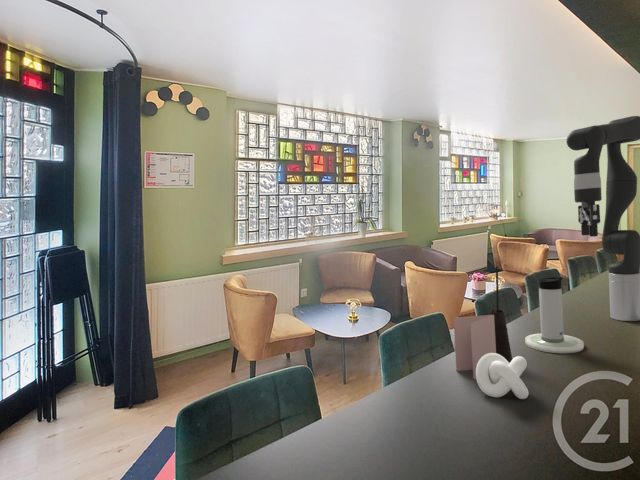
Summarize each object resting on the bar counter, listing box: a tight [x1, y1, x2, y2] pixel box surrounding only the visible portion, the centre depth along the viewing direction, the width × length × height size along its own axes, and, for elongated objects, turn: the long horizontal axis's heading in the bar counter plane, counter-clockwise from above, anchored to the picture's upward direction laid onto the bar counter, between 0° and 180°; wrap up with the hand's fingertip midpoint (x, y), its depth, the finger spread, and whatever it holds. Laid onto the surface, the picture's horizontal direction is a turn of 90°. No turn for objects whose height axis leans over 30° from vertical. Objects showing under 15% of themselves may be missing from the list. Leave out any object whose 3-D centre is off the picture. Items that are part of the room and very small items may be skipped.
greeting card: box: [453, 314, 496, 380], centre depth 108 cm, size 11×7×15 cm, turn 92°
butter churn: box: [489, 265, 513, 363], centre depth 117 cm, size 9×10×28 cm
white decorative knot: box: [475, 353, 529, 400], centre depth 94 cm, size 11×12×9 cm
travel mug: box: [538, 276, 565, 343], centre depth 126 cm, size 6×7×20 cm
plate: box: [524, 332, 585, 354], centre depth 126 cm, size 16×16×2 cm
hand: (589, 235), depth 134 cm, fingers open, 8 cm apart
